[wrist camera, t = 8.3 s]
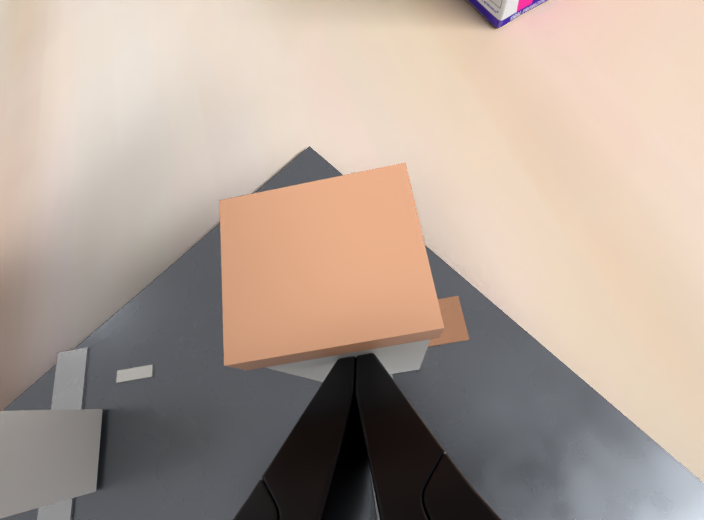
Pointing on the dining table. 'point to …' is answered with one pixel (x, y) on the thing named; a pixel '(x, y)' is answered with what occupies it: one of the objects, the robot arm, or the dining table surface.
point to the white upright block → (47, 457)
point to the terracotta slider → (327, 276)
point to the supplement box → (503, 9)
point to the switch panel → (296, 392)
